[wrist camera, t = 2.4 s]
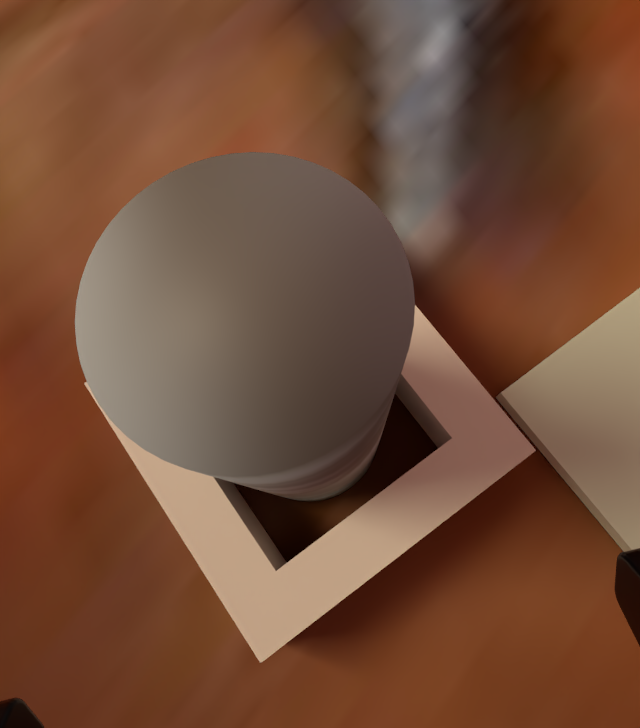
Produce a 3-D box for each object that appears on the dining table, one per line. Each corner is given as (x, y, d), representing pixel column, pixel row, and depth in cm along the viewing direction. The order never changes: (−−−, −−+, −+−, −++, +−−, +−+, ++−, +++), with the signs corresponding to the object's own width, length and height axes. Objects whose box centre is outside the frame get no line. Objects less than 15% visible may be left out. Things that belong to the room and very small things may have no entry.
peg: (292, 531, 20) (192, 552, 8) (213, 415, 22) (15, 273, 9) (408, 444, 21) (487, 334, 8) (324, 335, 22) (283, 96, 10)
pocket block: (274, 641, 20) (260, 663, 17) (119, 401, 22) (83, 383, 19) (510, 459, 21) (535, 450, 18) (338, 248, 23) (336, 209, 20)
